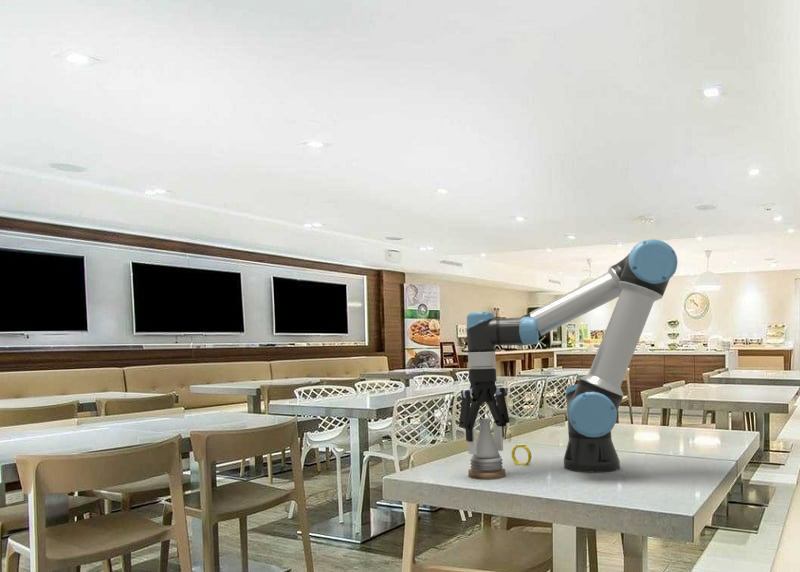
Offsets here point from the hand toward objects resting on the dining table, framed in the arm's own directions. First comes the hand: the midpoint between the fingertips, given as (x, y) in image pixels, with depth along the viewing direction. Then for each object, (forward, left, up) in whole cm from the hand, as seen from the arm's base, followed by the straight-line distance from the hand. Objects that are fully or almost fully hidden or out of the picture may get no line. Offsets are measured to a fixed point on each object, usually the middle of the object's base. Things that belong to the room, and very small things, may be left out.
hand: (486, 451), depth 176 cm
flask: (0, 0, -2) cm, 2 cm away
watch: (-2, -20, -7) cm, 21 cm away
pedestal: (0, 0, -6) cm, 6 cm away
